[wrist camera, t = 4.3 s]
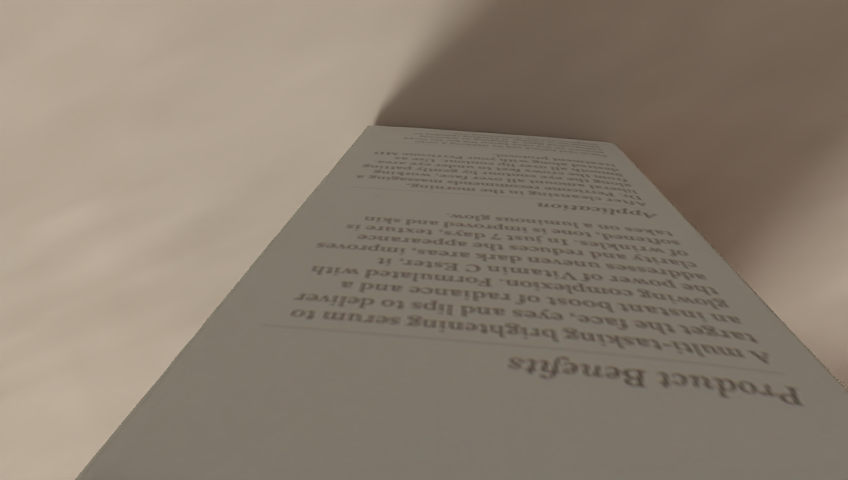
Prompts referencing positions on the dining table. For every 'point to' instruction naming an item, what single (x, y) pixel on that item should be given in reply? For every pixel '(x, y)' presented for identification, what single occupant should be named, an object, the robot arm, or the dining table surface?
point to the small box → (487, 336)
